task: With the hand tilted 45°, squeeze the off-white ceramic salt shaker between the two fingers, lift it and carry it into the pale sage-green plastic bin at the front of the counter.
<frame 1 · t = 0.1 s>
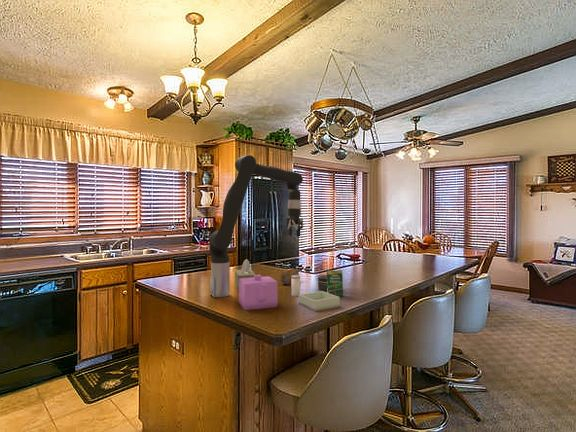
hand: (294, 235, 201), 29 cm above the countertop, tool pointing down, fingers open, 8 cm apart
tin: (289, 283, 209), on the countertop
salt shaker: (295, 295, 179), on the countertop
tissue box: (245, 286, 202), on the countertop
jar: (327, 290, 189), on the countertop
pink storage box: (258, 306, 160), on the countertop
coffee box: (334, 296, 177), on the countertop
bin: (318, 305, 160), on the countertop
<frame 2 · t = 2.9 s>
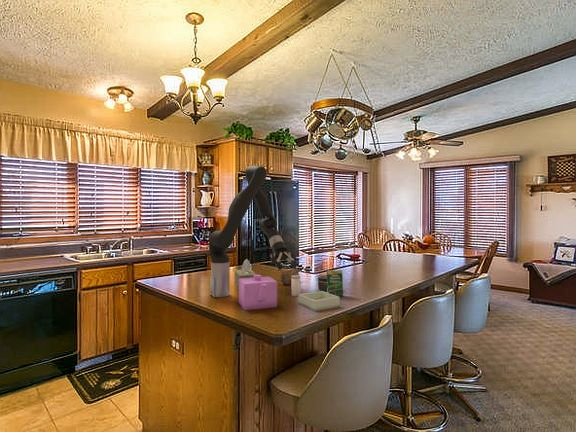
hand: (287, 268, 186), 13 cm above the countertop, tool tilted 45°, fingers open, 8 cm apart
nothing on the countertop moved.
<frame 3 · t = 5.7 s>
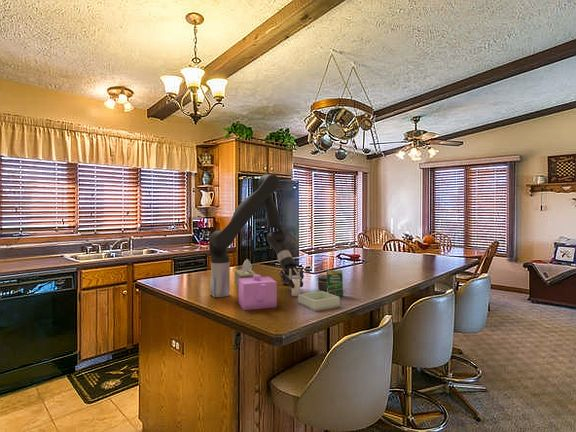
hand: (297, 286, 178), 5 cm above the countertop, tool tilted 45°, fingers closed on salt shaker, 4 cm apart
salt shaker: (295, 295, 179), on the countertop, touching gripper
everything else where it was.
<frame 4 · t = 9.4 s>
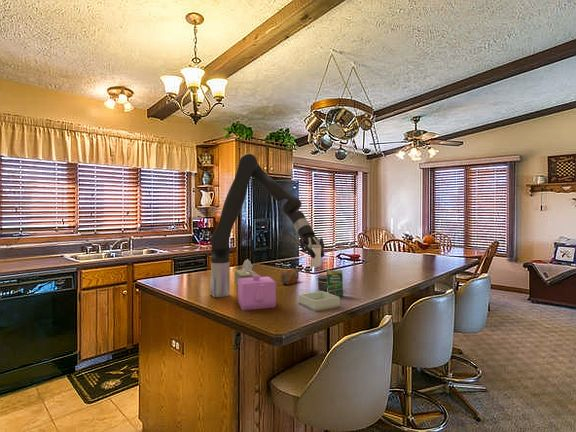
hand: (318, 256, 161), 22 cm above the countertop, tool tilted 45°, fingers closed on salt shaker, 4 cm apart
salt shaker: (316, 266, 163), point 18 cm above the countertop, touching gripper
everything else where it was.
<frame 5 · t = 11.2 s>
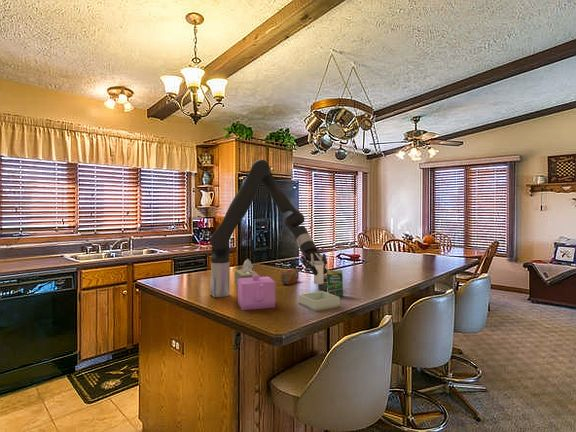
hand: (321, 273, 158), 15 cm above the countertop, tool tilted 45°, fingers closed on salt shaker, 4 cm apart
salt shaker: (318, 283, 160), point 10 cm above the countertop, touching gripper
everything else where it was.
when the fingers open (7 cm above the countertop, at t = 13.0 s): salt shaker drops 1 cm, resting on bin.
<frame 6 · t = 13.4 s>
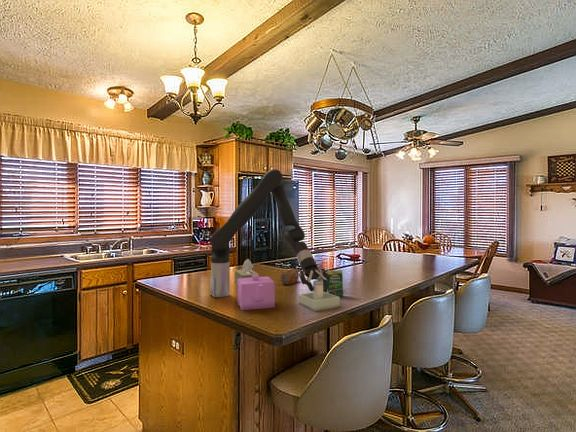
hand: (320, 289, 159), 8 cm above the countertop, tool tilted 45°, fingers open, 8 cm apart
salt shaker: (318, 303, 160), point 1 cm above the countertop, touching bin
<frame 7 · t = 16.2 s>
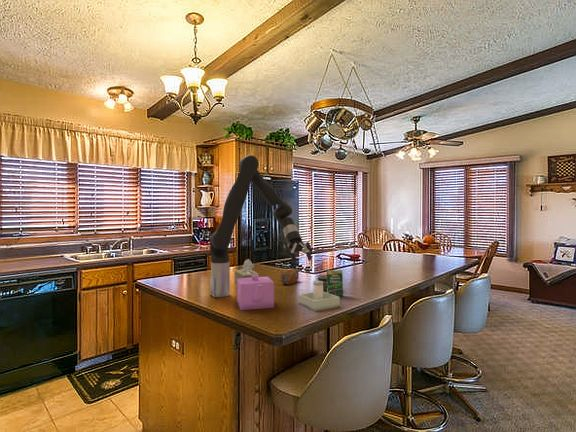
hand: (302, 260, 170), 19 cm above the countertop, tool tilted 45°, fingers open, 8 cm apart
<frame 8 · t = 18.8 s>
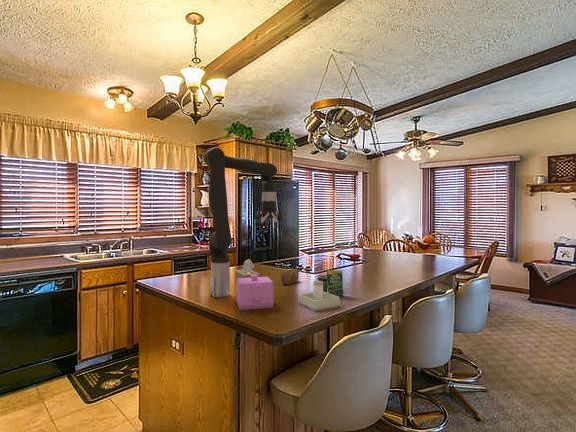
hand: (268, 229, 192), 33 cm above the countertop, tool pointing down, fingers open, 8 cm apart
at the end: salt shaker inside the target area on the bin (0.1 cm from its centre), point 1.0 cm above the bin's base; the gripper is holding nothing; salt shaker tilted 0° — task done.
